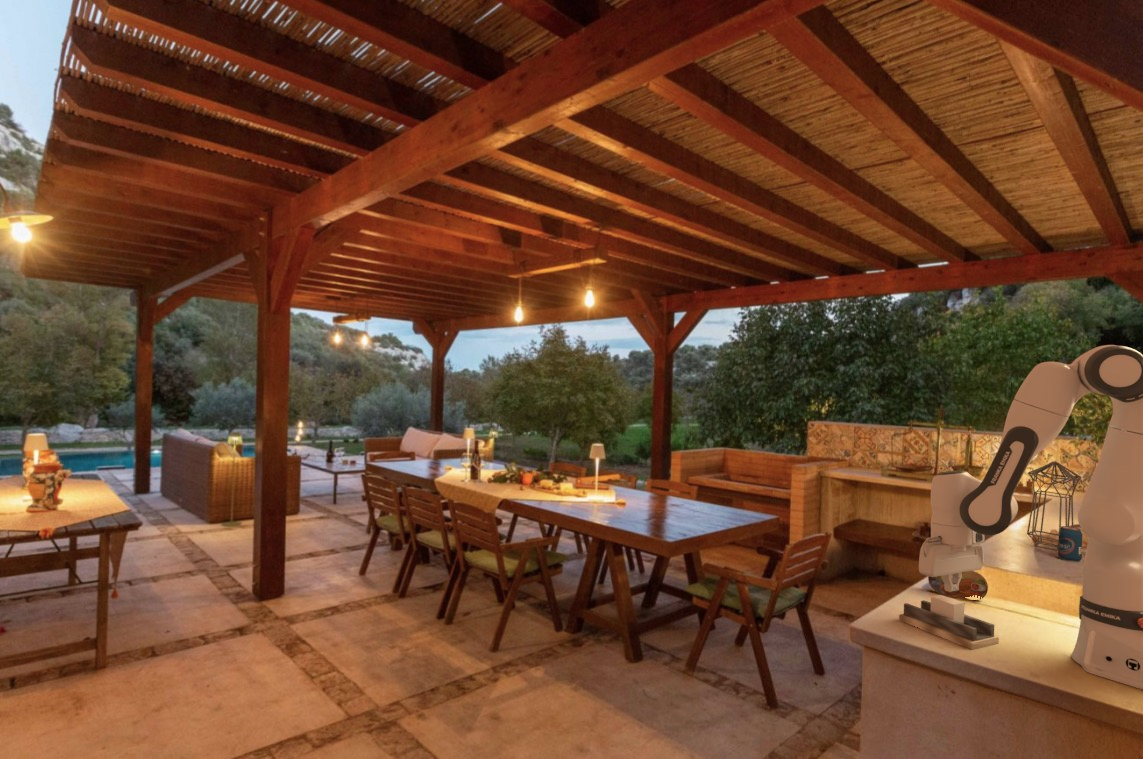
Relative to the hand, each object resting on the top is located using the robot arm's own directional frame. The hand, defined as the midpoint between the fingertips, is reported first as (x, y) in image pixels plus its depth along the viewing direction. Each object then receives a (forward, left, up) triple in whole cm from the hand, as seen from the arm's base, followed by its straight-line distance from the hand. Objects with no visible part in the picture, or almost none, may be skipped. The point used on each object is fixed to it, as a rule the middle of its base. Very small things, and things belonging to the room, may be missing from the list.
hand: (951, 590), depth 155 cm
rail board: (+1, +1, -10) cm, 10 cm away
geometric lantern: (+44, -131, -11) cm, 139 cm away
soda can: (+31, -116, -11) cm, 120 cm away
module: (+1, 0, -8) cm, 8 cm away
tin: (+18, -30, -11) cm, 36 cm away
